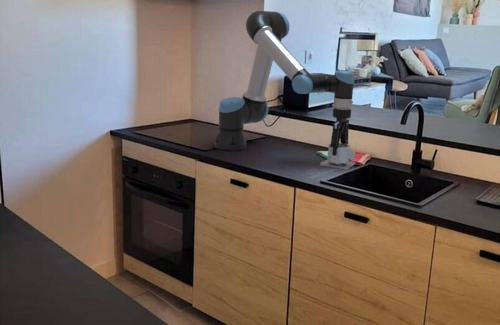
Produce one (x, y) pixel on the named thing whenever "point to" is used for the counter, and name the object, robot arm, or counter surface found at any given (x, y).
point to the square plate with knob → (337, 164)
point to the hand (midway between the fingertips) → (338, 160)
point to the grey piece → (342, 153)
